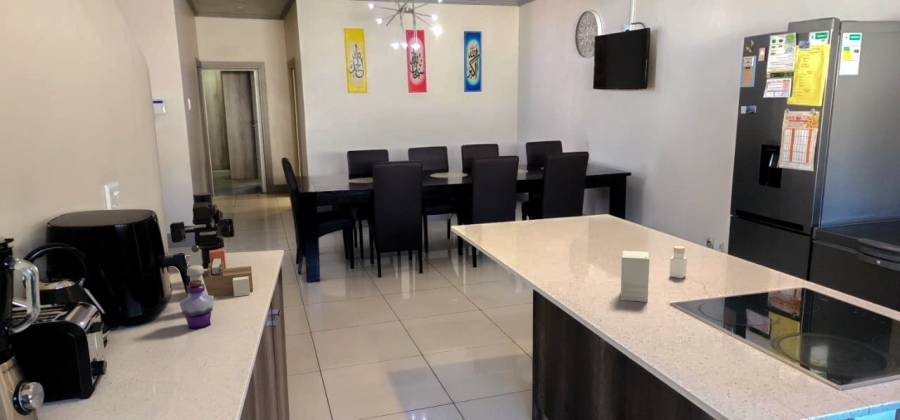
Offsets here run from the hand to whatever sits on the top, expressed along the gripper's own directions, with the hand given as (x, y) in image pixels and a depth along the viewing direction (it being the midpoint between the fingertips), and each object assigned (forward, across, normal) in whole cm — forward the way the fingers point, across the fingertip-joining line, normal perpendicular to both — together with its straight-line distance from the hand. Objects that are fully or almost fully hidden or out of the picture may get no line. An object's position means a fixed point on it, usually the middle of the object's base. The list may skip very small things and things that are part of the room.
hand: (200, 235), depth 178 cm
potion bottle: (+34, +1, +16) cm, 38 cm away
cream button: (+12, +11, +16) cm, 23 cm away
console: (+7, +5, +16) cm, 18 cm away
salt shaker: (+23, 0, +17) cm, 28 cm away
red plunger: (+2, +4, +12) cm, 13 cm away
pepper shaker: (+46, +141, +17) cm, 149 cm away
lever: (+10, -1, +10) cm, 14 cm away
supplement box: (+57, +117, +17) cm, 131 cm away
